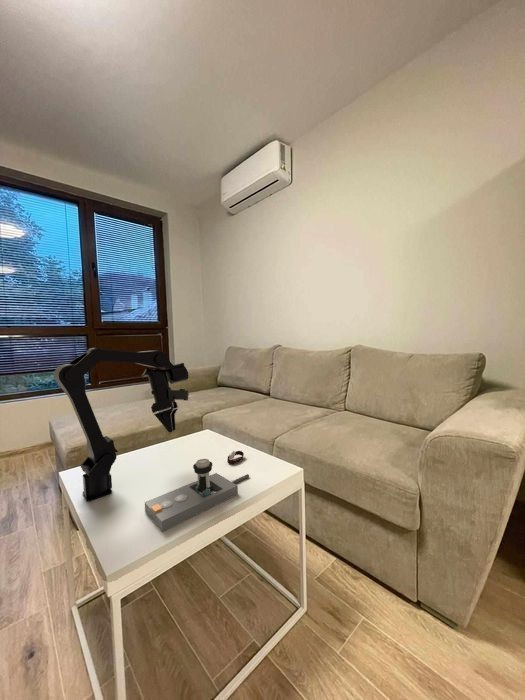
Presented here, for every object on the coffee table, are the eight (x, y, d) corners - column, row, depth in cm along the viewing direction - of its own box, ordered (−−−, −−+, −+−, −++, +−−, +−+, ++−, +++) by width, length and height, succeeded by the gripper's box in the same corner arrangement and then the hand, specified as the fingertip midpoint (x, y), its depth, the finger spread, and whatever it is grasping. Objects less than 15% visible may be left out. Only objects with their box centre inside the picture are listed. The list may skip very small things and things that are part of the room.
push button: (221, 494, 81) (219, 459, 80) (210, 504, 76) (208, 467, 75) (202, 489, 83) (200, 456, 83) (190, 499, 79) (188, 464, 78)
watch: (237, 455, 107) (236, 446, 107) (247, 458, 105) (246, 448, 104) (224, 464, 101) (223, 454, 100) (234, 466, 98) (234, 456, 98)
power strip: (162, 531, 66) (161, 519, 65) (145, 511, 74) (144, 500, 74) (260, 483, 86) (259, 473, 86) (238, 471, 94) (238, 462, 94)
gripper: (181, 376, 89) (195, 424, 87) (185, 382, 107) (197, 422, 105) (145, 387, 87) (158, 436, 84) (155, 391, 105) (166, 432, 102)
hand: (172, 431), depth 94 cm, fingers open, 9 cm apart
